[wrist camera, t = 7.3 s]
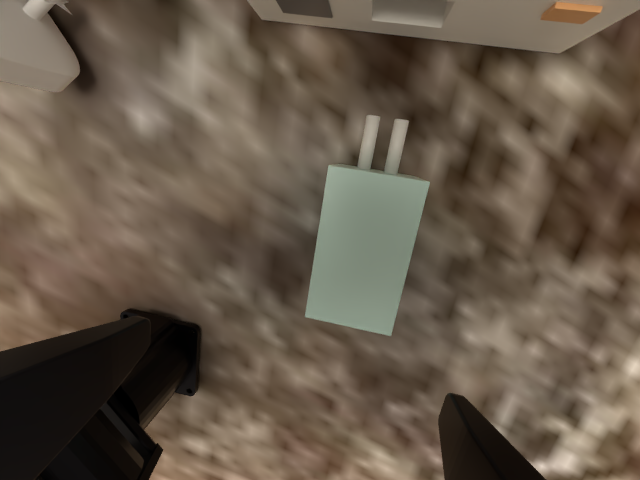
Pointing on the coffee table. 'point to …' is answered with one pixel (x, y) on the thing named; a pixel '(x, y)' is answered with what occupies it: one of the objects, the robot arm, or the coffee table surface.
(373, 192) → the charger
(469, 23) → the bar
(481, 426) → the robot arm
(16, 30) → the cable organizer
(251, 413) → the coffee table surface
